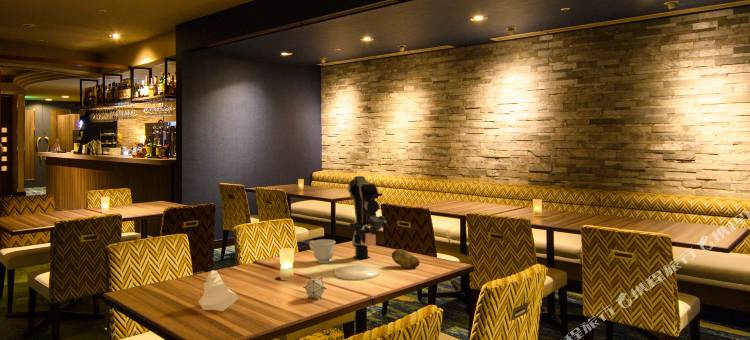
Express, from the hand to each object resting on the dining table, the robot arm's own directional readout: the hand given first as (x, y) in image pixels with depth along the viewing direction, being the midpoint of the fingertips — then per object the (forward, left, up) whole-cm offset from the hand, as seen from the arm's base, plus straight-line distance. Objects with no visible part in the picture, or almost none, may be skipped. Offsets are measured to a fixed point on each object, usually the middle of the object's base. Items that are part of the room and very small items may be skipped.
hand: (368, 242), depth 258 cm
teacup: (-20, -14, -11) cm, 27 cm away
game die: (+29, -47, -11) cm, 56 cm away
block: (0, 0, -1) cm, 1 cm away
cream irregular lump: (+15, -80, -11) cm, 82 cm away
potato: (+14, +11, -11) cm, 21 cm away
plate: (+10, -14, -11) cm, 20 cm away
